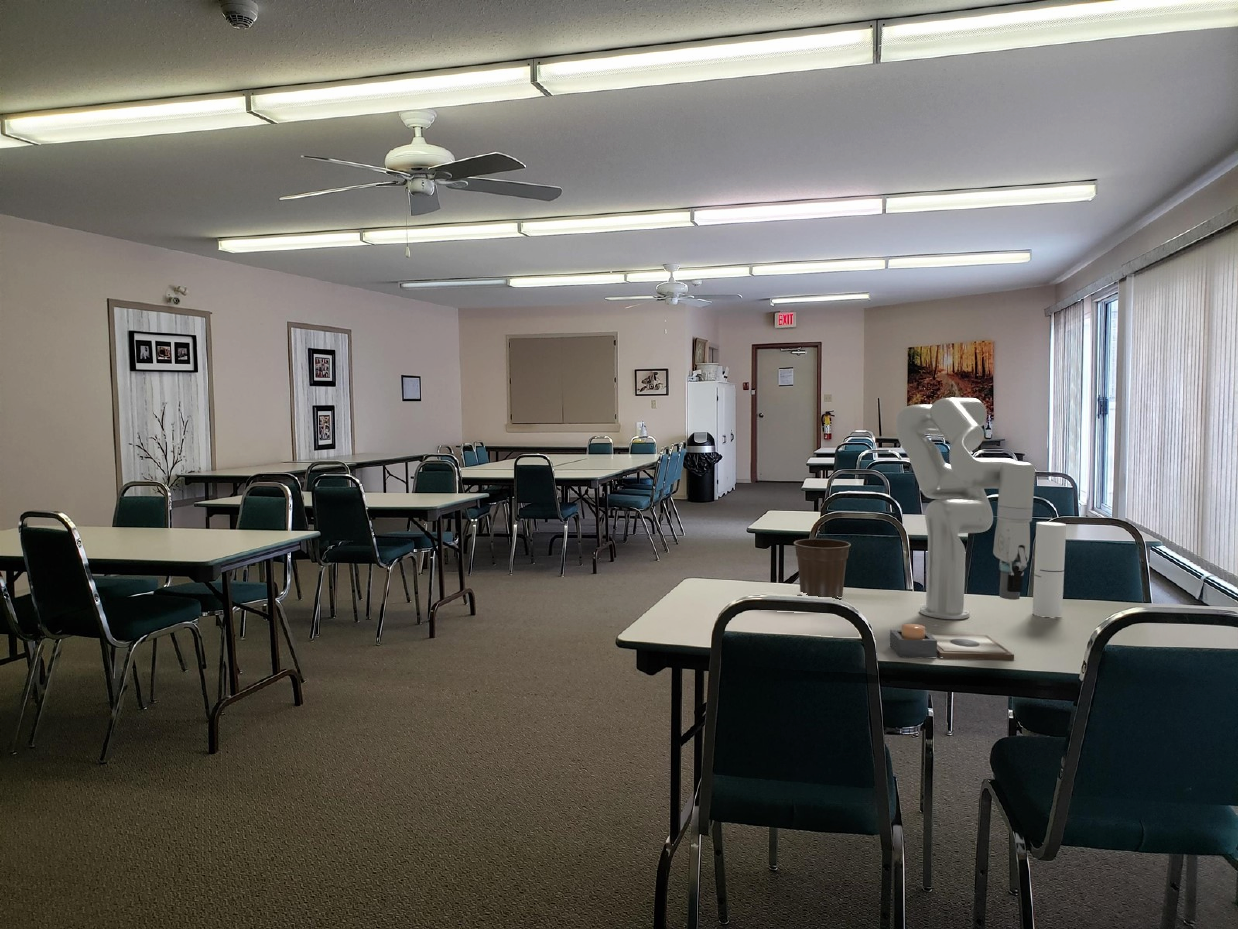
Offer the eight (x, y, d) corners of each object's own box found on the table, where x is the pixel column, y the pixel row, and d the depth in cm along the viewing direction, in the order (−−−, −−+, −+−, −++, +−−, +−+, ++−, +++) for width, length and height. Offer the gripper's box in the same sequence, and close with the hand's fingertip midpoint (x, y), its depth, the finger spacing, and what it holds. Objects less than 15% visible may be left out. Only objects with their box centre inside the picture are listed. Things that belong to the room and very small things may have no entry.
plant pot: (800, 603, 239) (801, 547, 237) (786, 590, 255) (787, 538, 254) (856, 603, 239) (858, 547, 238) (839, 590, 255) (841, 538, 254)
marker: (995, 594, 203) (997, 562, 203) (1015, 595, 203) (1017, 562, 202) (1003, 599, 199) (1005, 566, 198) (1023, 600, 198) (1025, 566, 198)
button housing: (889, 646, 196) (890, 629, 196) (925, 647, 195) (925, 630, 195) (899, 657, 188) (899, 639, 187) (936, 658, 187) (937, 640, 187)
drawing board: (919, 638, 203) (919, 632, 203) (986, 640, 202) (986, 634, 202) (940, 658, 187) (940, 651, 187) (1013, 660, 186) (1014, 653, 186)
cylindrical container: (1054, 619, 223) (1059, 526, 221) (1027, 614, 228) (1031, 523, 226) (1066, 615, 227) (1070, 524, 225) (1039, 610, 233) (1043, 521, 231)
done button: (898, 638, 194) (899, 623, 194) (920, 638, 194) (921, 624, 193) (904, 644, 189) (905, 629, 189) (927, 645, 189) (928, 629, 188)
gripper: (985, 508, 207) (980, 580, 209) (1012, 519, 191) (1008, 597, 193) (1016, 508, 207) (1011, 581, 209) (1046, 519, 190) (1041, 598, 192)
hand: (1010, 588), depth 201 cm, fingers closed on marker, 4 cm apart
